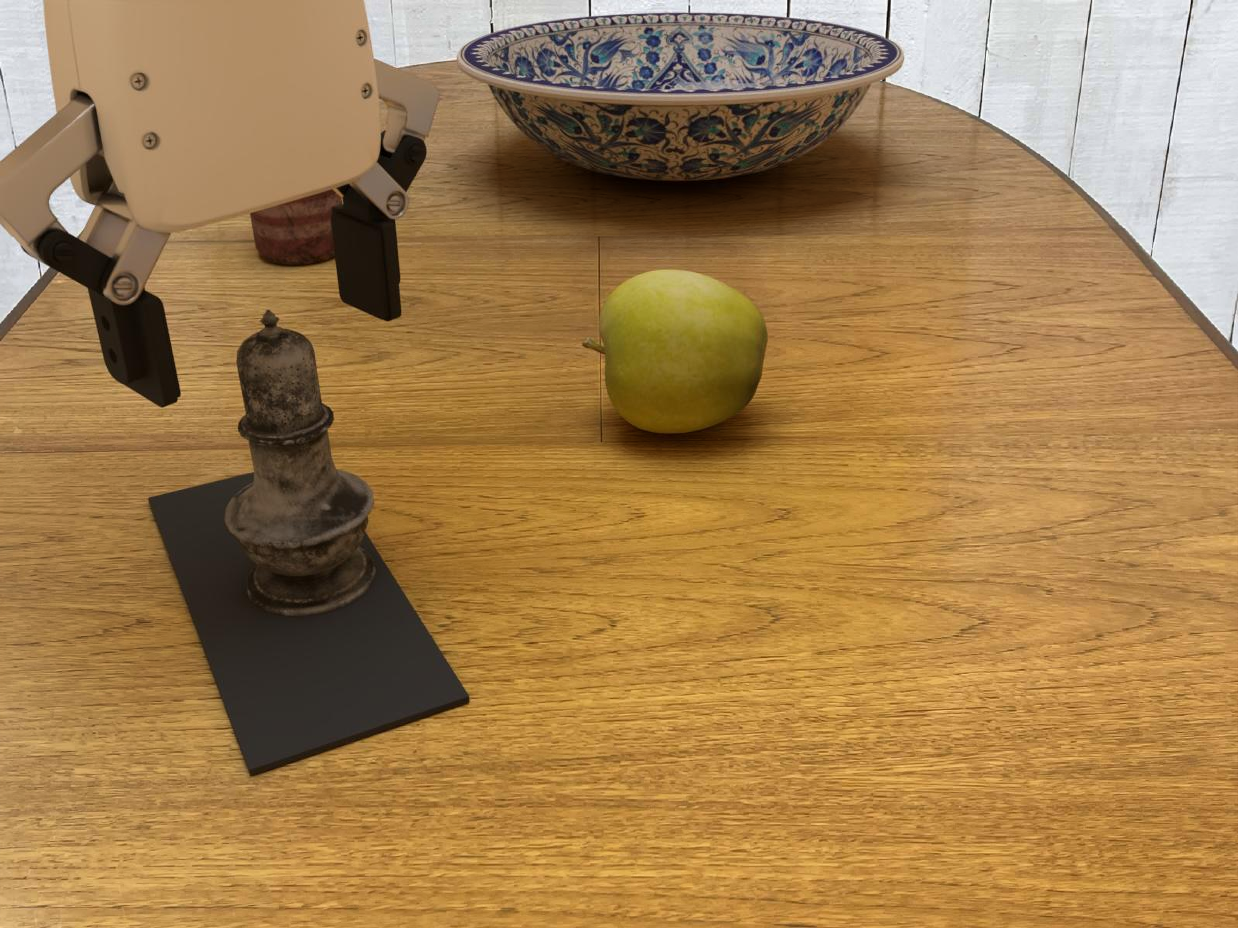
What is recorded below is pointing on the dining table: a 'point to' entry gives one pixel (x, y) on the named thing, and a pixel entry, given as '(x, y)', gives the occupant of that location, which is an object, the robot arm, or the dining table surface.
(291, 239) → the can
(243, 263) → the dining table surface
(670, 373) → the apple
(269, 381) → the salt shaker
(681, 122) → the ceramic bowl
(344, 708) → the black mat
